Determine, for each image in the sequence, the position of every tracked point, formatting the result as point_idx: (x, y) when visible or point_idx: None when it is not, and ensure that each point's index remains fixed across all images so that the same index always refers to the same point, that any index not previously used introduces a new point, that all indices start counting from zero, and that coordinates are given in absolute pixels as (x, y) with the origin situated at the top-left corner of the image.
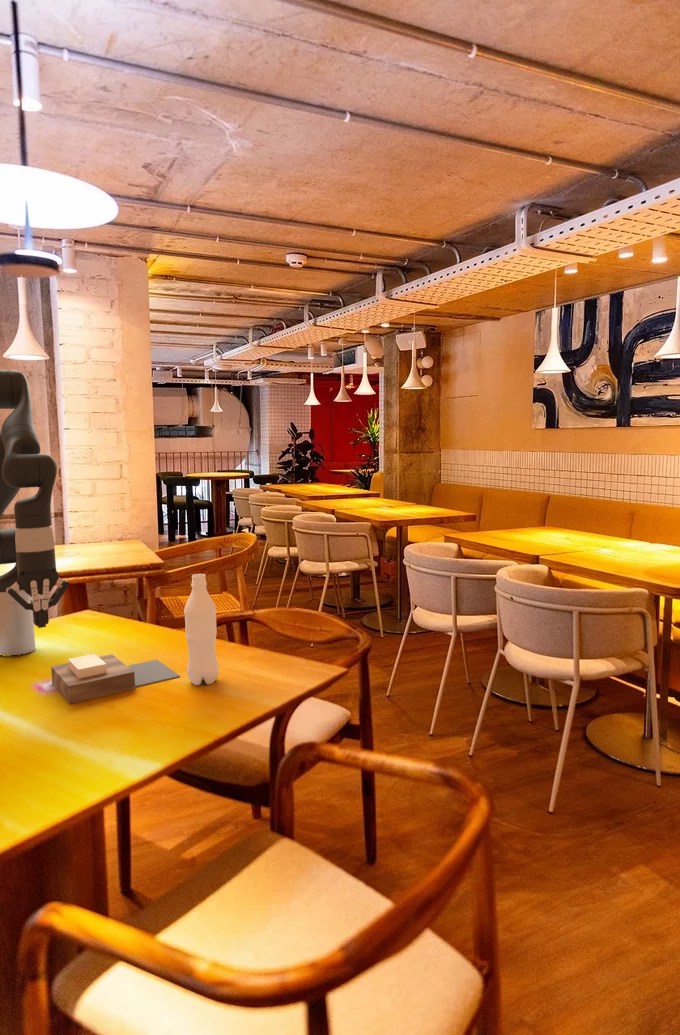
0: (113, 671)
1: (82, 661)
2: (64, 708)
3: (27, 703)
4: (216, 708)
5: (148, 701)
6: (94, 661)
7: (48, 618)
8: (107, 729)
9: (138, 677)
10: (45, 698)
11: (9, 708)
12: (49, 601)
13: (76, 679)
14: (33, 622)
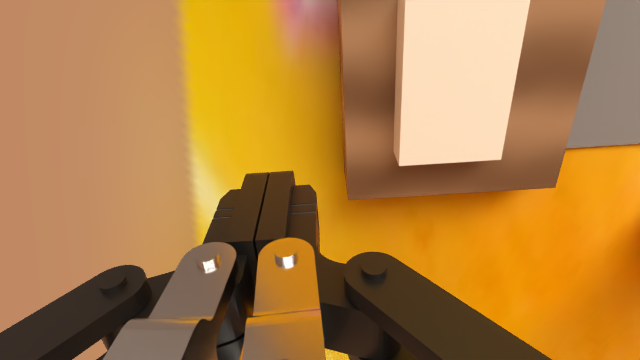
0: (508, 149)
1: (443, 78)
2: (326, 189)
3: (239, 98)
4: (580, 339)
5: (505, 250)
6: (480, 108)
7: (319, 244)
8: None
9: (589, 81)
10: (291, 86)
11: (190, 109)
12: (341, 347)
13: (383, 156)
14: (221, 200)
